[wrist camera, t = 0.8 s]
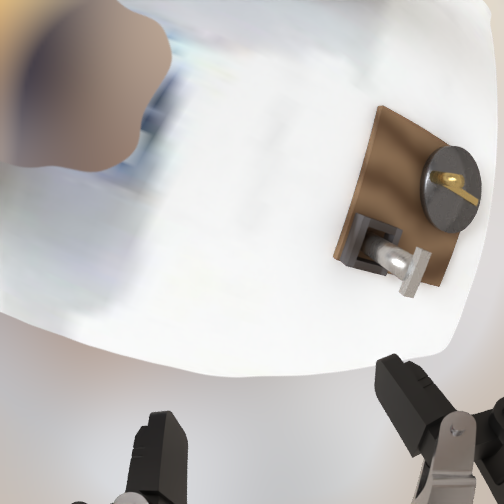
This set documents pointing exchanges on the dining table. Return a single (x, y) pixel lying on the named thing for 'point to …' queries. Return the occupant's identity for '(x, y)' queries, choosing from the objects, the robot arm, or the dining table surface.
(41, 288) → the dining table surface
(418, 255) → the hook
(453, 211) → the handwheel
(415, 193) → the board
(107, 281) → the dining table surface
